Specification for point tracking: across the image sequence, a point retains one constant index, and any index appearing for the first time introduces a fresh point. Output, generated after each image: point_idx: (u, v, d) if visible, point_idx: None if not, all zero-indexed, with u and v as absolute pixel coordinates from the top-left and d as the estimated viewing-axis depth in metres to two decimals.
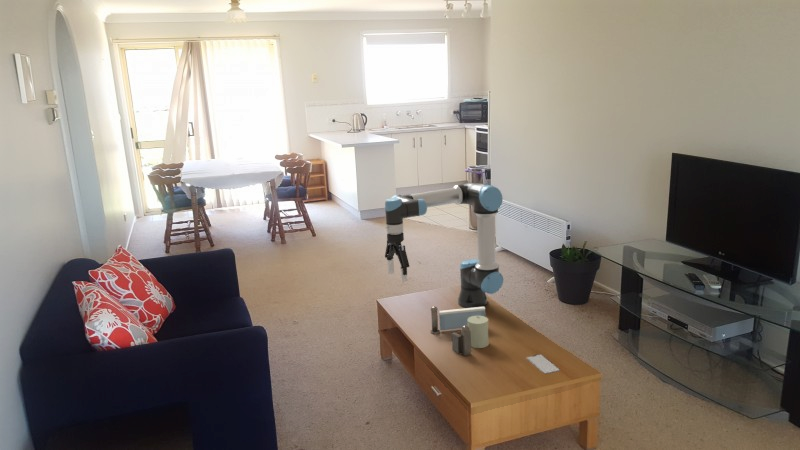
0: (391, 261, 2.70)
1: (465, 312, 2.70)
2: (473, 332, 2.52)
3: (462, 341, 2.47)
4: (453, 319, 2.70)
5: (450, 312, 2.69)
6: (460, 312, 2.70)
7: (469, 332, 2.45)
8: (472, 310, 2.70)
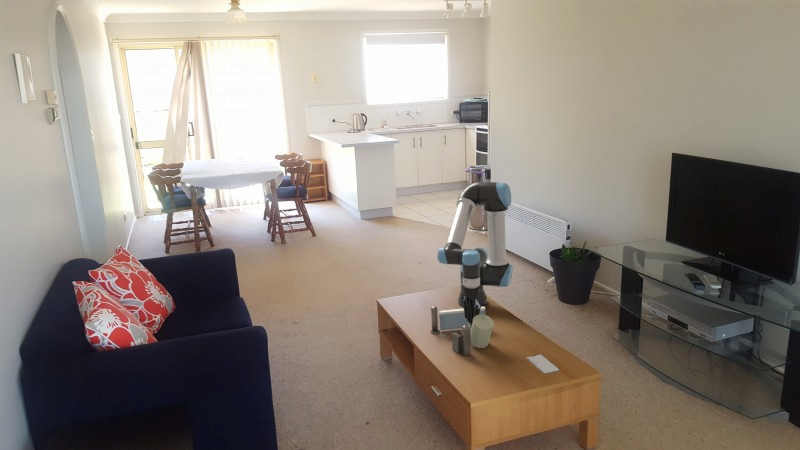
0: None
1: None
2: (476, 334, 2.50)
3: (462, 341, 2.47)
4: (453, 319, 2.70)
5: (450, 312, 2.69)
6: (460, 312, 2.70)
7: (469, 332, 2.45)
8: None
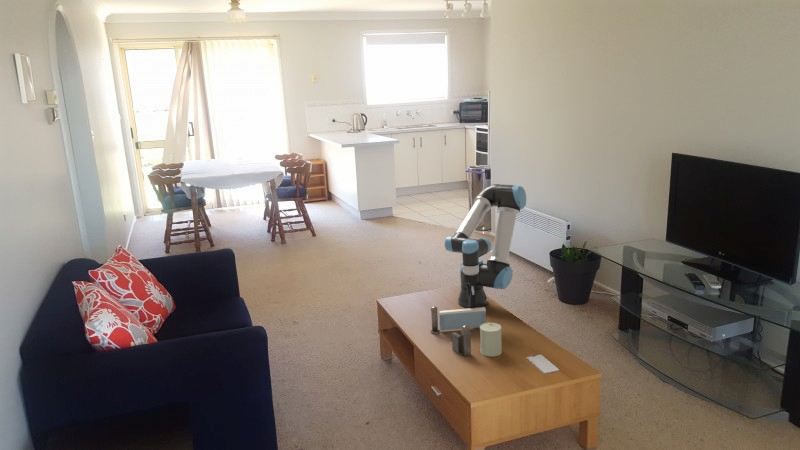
0: None
1: (465, 312, 2.70)
2: (485, 340, 2.44)
3: (462, 341, 2.47)
4: (453, 319, 2.70)
5: (450, 312, 2.69)
6: (460, 312, 2.69)
7: (469, 332, 2.45)
8: (472, 311, 2.70)
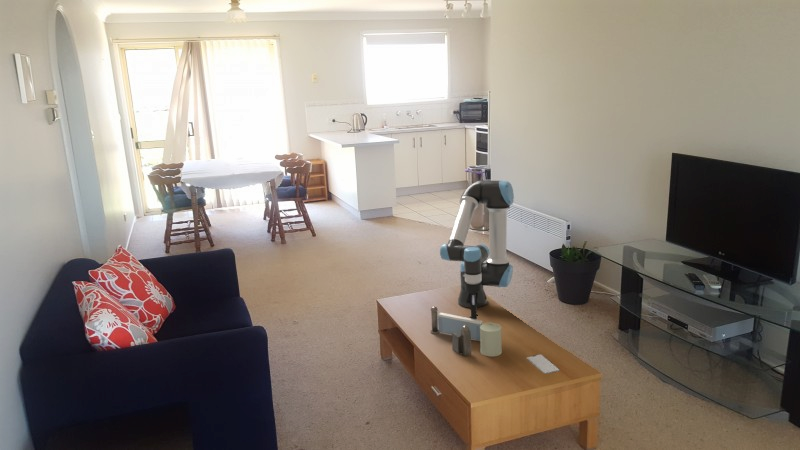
0: None
1: (461, 321, 2.61)
2: (485, 340, 2.44)
3: (462, 341, 2.47)
4: (450, 324, 2.65)
5: (447, 316, 2.64)
6: (456, 319, 2.62)
7: (469, 332, 2.45)
8: (467, 321, 2.59)
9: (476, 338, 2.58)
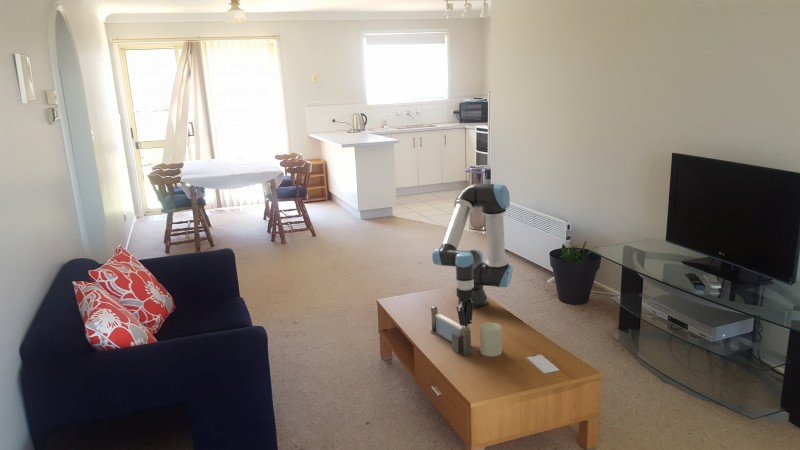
0: None
1: (451, 325, 2.57)
2: (485, 340, 2.44)
3: (462, 341, 2.47)
4: (443, 327, 2.62)
5: (441, 318, 2.63)
6: (447, 323, 2.59)
7: (469, 332, 2.45)
8: (455, 326, 2.54)
9: None
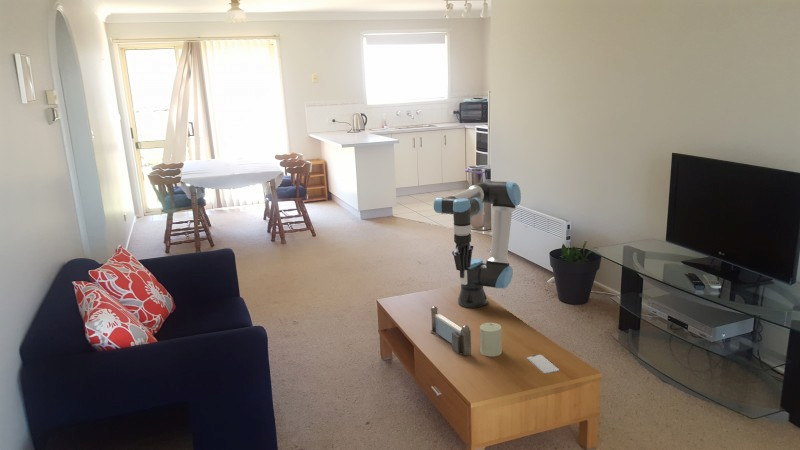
0: None
1: (448, 325, 2.56)
2: (485, 340, 2.44)
3: (462, 341, 2.47)
4: (442, 327, 2.62)
5: (440, 319, 2.62)
6: (445, 323, 2.58)
7: (469, 332, 2.45)
8: (452, 327, 2.53)
9: None
